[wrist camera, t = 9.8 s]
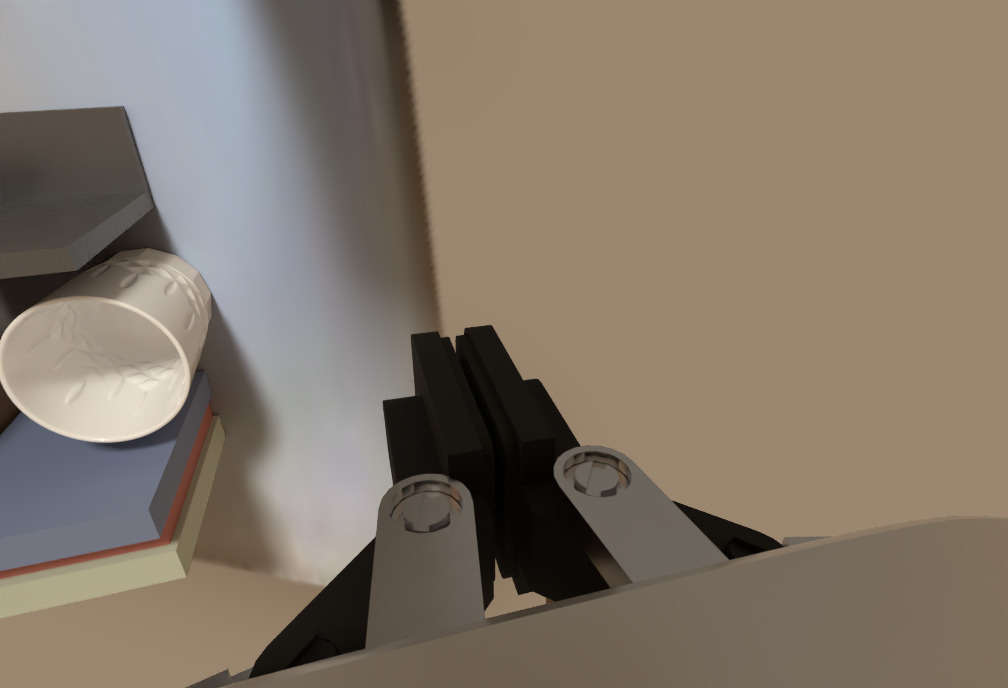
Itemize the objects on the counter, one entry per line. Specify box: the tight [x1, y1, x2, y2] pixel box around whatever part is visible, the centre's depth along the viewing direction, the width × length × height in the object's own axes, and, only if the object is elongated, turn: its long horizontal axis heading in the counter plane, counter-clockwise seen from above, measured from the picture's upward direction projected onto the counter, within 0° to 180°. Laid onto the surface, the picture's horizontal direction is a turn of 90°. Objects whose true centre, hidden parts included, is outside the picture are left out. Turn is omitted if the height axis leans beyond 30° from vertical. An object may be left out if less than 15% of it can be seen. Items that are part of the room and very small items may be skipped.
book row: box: [0, 370, 226, 618], centre depth 33 cm, size 6×10×14 cm, turn 92°
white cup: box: [0, 248, 212, 443], centre depth 32 cm, size 8×8×10 cm
